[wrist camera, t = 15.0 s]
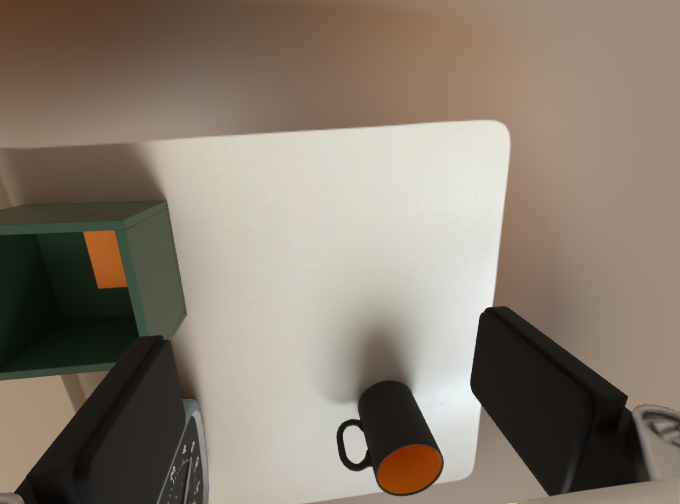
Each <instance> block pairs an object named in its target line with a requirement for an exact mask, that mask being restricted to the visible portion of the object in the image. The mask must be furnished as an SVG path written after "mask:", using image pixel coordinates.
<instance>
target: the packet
mask: <svg viewBox="0 0 680 504" xmlns="http://www.w3.org/2000/svg"><path fill="white" fill-rule="evenodd" d="M83 233H84V237H85V240H86V244H87V248H88V252H89V255H90V259H91V263H92V266H93V270H94V274H95V278H96V281H97V285H98V288H99V289H100V288H116V287H128V286H127V282H126V278H125V273H124V269H123V265H122V261H121V256H120V252H119V248H118V244H117V239H116V235H115V230H112V231H87V232H83Z"/></svg>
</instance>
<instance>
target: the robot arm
mask: <svg viewBox="0 0 680 504" xmlns="http://www.w3.org/2000/svg"><path fill="white" fill-rule="evenodd" d="M470 386H471V390H472V392H473V394H474V395H475V397H476V398H477V399H478V401H479V402H480V403H481V405H482V406H483V407H484V409H485V410H486V412H487V413H488V414H489V416H490V417H491V418H492V420H493V421H494V422H495V423H496V425H497V426H498V428H499V429H500V430H501V432H502V433H503V435H504V436H505V437H506V438H507V440H508V441H509V442H510V444H511V445H512V447H513V448H514V449H515V451H516V452H517V453H518V455H519V456H520V457H521V459H522V460H523V462H524V463H525V464H526V466H527V467H528V468H529V470H530V471H531V472H532V474H533V475H534V476H535V478H536V479H537V480H538V482H539V483H540V485H541V486H542V487H543V489H544V490H545V491H546V492H547V494H548V495H549V497H544V498H537V499H531V500H525V501H519V502H513V503H507V504H680V412H678V411H675V410H672V409H670V408H667V407H662V406H658V405H648V404H643V405H639V406H636V407H635V409H633V412H631V411H629V410H628V409H627V408H626V407H625V404H626V401H627V398H628V396H627V395H625V394H624V393H623V392H621V391H620V390H619V389H617V388H616V387H615V386H613V385H612V384H611V383H609V382H608V381H607V380H605V379H604V378H603V377H601V376H600V375H598V374H597V373H596V372H594V371H593V370H592V369H590V368H589V367H587V366H586V365H585V364H584V363H582V362H581V361H580V360H578V359H577V358H576V357H574V356H573V355H571V354H570V353H569V352H568V351H566V350H565V349H563V348H562V347H561V346H559V345H558V344H557V343H555V342H554V341H553V340H551V339H550V338H549V337H547V336H546V335H545V334H543V333H542V332H540V331H539V330H538V329H536V328H535V327H534V326H532V325H531V324H530V323H528V322H527V321H526V320H524V319H523V318H522V317H520V316H519V315H517V314H516V313H515V312H513V311H512V310H511V309H510V308H508V307H506V306H501V307H488V308H486V309H485V311H484V312H483V313H481V315H480V318H479V325H478V332H477V338H476V345H475V352H474V359H473V366H472V373H471V380H470ZM185 423H186V415H185V409H184V404H183V399H182V394H181V390H180V385H179V380H178V375H177V370H176V365H175V360H174V355H173V350H172V345H171V342H170V340H168V339H167V340H164V338H163V336H162V335H152V336H140V337H137V338H136V339H135V340H134V342H133V343H132V344H131V345H130V347H129V348H128V349H127V350H126V352H125V353H124V354H123V355H122V357H121V358H120V359H119V360H118V362H117V363H116V364H115V365H114V367H113V368H112V369H111V370H110V372H109V373H108V374H107V375H106V377H105V378H104V379H103V380H102V382H101V383H100V384H99V385H98V387H97V388H96V389H95V390H94V392H93V393H92V394H91V396H90V397H89V398H88V399H87V401H86V402H85V403H84V404H83V406H82V407H81V408H80V409H79V411H78V412H77V413H76V414H75V416H74V417H73V418H72V419H71V421H70V422H69V423H68V424H67V426H66V427H65V428H64V430H63V431H62V432H61V433H60V435H59V436H58V437H57V438H56V439H55V441H54V442H53V443H52V444H51V446H50V447H49V448H48V450H47V451H46V452H45V453H44V454H43V456H42V457H41V458H40V460H39V461H38V462H37V463H36V465H35V466H34V467H33V468H32V470H31V471H30V472H29V473H28V475H27V476H26V478H25V479H24V481H23V482H22V483H21V484H20V486H19V487H18V488H17V490H16V491H15V492H14V493H11V492H9V493H0V504H157V501H158V499H159V496H160V493H161V491H162V488H163V485H164V482H165V480H166V477H167V474H168V472H169V469H170V466H171V464H172V461H173V458H174V456H175V453H176V450H177V447H178V445H179V442H180V439H181V437H182V434H183V431H184V428H185Z"/></svg>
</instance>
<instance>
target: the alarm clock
mask: <svg viewBox="0 0 680 504" xmlns="http://www.w3.org/2000/svg"><path fill="white" fill-rule="evenodd" d="M183 404H184V409H185V415H186V423H185V428H184V431H183V434H182V437H181V439H180V442H179V445H178V447H177V450H176V453H175V456H174V458H173V461H172V464H171V466H170V469H169V472H168V474H167V477H166V480H165V482H164V485H163V488H162V491H161V493H160V496H159V499H158V501H157V504H208V500H209V476H208V463H207V454H206V446H205V437H204V428H203V420H202V415H201V410H200V405H199V404H198V403H197V401H196V400H195V399H183Z"/></svg>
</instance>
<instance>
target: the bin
mask: <svg viewBox="0 0 680 504" xmlns="http://www.w3.org/2000/svg"><path fill="white" fill-rule="evenodd" d="M112 230H115V235H116V239H117V244H118V248H119V252H120V256H121V261H122V265H123V269H124V273H125V278H126V282H127V286H128V287H116V288H100V289H99V288H98V285H97V281H96V278H95V274H94V270H93V266H92V263H91V259H90V255H89V252H88V248H87V244H86V240H85V237H84V233H83V232H87V231H112ZM186 315H187V312H186V306H185V300H184V295H183V289H182V284H181V278H180V272H179V267H178V261H177V255H176V250H175V244H174V239H173V233H172V227H171V222H170V216H169V210H168V205H167V201H135V202H102V203H68V204H35V205H20V206H15V207H11V208H6V209H2V210H0V381H1V380H12V379H22V378H33V377H42V376H54V375H64V374H75V373H85V372H96V371H106V370H111V369H112V368H113V367H114V365H115V364H116V363H117V362H118V360H119V359H120V358H121V357H122V355H123V354H124V353H125V352H126V350H127V349H128V348H129V347H130V345H131V344H132V343H133V342H134V340H135V339H136V338H137V337H140V336H152V335H162V336H163V338H164V340H167V339H168V340H170V341H171V340H172V338H173V336H174V335H175V333H176V331H177V330H178V328H179V326H180V325H181V323H182V321H183V320H184V318H185V316H186Z"/></svg>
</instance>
